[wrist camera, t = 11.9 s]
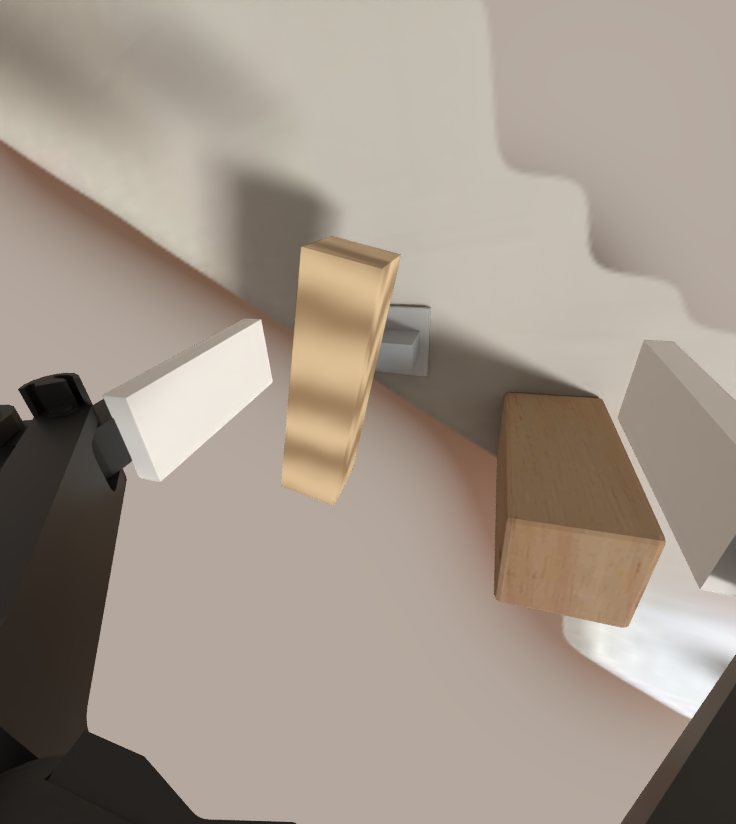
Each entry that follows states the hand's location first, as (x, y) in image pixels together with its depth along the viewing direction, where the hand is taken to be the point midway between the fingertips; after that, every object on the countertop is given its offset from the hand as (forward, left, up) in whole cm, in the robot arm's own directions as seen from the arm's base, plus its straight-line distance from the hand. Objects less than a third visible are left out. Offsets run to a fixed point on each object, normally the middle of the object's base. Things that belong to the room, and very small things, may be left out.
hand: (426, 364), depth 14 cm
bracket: (+10, -11, -29) cm, 32 cm away
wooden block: (+20, +10, -29) cm, 37 cm away
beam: (+10, -11, -20) cm, 25 cm away
